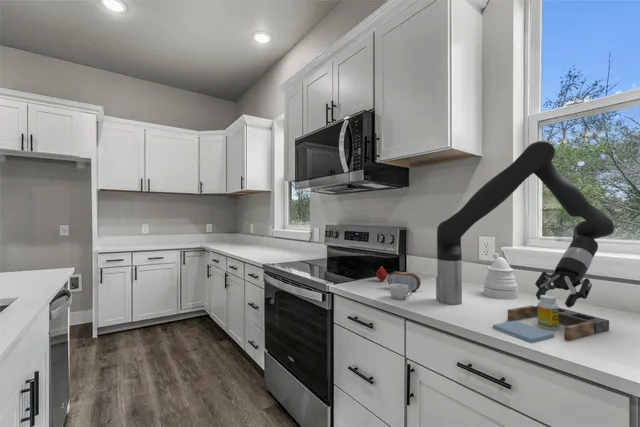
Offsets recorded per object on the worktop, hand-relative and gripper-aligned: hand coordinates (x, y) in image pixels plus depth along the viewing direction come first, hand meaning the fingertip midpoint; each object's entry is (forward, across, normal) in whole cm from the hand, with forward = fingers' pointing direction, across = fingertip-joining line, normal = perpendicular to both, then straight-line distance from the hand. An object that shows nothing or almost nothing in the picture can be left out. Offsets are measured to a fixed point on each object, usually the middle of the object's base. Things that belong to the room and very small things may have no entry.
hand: (552, 302), depth 99 cm
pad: (+15, 0, -5) cm, 16 cm away
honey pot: (-8, -32, +19) cm, 38 cm away
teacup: (+23, -45, -12) cm, 52 cm away
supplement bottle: (+7, 0, +4) cm, 8 cm away
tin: (+16, -56, -5) cm, 59 cm away
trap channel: (+4, 0, +6) cm, 8 cm away
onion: (+15, -76, -4) cm, 78 cm away
